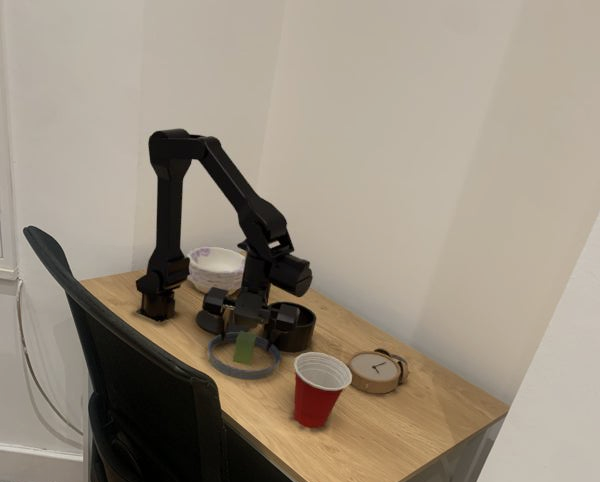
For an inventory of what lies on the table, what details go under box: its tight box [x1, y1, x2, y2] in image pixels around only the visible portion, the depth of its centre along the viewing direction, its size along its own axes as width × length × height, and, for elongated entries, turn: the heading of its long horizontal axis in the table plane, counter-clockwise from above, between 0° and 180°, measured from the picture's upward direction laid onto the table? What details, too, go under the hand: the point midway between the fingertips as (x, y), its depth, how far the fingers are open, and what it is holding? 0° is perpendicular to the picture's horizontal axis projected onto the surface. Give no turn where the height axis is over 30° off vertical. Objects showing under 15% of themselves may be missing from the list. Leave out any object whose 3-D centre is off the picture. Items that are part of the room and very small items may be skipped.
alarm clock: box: [347, 347, 411, 394], centre depth 138 cm, size 11×5×15 cm
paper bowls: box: [186, 246, 246, 296], centre depth 157 cm, size 15×15×8 cm
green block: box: [232, 331, 258, 366], centre depth 132 cm, size 4×4×6 cm
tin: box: [260, 301, 317, 354], centre depth 142 cm, size 11×11×7 cm
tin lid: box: [195, 307, 251, 336], centre depth 143 cm, size 12×12×5 cm
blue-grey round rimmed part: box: [206, 332, 282, 381], centre depth 133 cm, size 15×15×2 cm
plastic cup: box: [293, 351, 352, 429], centre depth 118 cm, size 11×11×12 cm
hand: (245, 345), depth 132 cm, fingers open, 9 cm apart
